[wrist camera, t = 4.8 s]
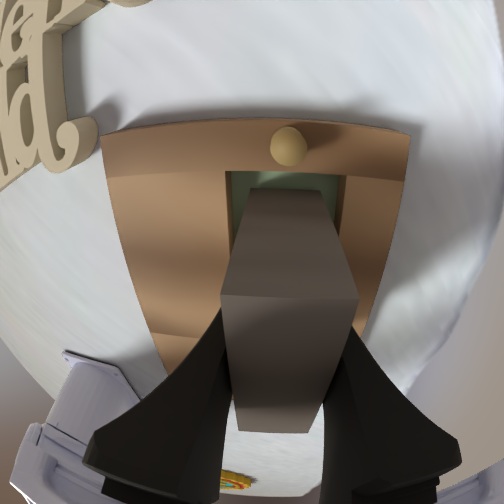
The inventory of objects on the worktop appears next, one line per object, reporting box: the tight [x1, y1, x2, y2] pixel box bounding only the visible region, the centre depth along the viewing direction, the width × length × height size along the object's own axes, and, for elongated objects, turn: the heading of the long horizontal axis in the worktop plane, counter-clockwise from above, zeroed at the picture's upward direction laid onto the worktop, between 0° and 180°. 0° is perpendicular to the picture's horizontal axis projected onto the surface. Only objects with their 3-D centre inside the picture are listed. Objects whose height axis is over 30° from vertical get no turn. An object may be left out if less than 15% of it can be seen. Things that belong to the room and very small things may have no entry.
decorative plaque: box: [220, 470, 251, 490], centre depth 50 cm, size 30×3×30 cm
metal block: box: [220, 188, 360, 433], centre depth 11 cm, size 8×3×7 cm, turn 1°
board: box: [100, 118, 410, 403], centre depth 15 cm, size 20×13×3 cm, turn 1°
